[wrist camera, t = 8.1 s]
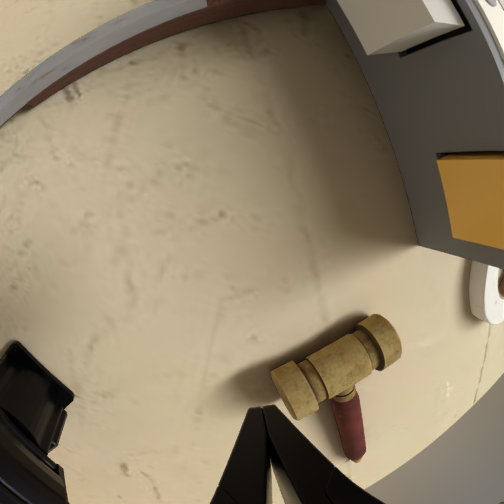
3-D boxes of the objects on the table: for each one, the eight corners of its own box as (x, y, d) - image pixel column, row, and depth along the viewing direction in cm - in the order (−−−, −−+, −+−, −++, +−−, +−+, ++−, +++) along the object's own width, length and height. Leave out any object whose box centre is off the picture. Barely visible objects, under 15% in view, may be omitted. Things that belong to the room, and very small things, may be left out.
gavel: (399, 449, 27) (329, 493, 25) (380, 428, 31) (313, 468, 29) (402, 327, 20) (285, 397, 18) (367, 304, 24) (263, 361, 22)
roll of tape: (491, 183, 27) (509, 184, 24) (522, 239, 32) (536, 242, 29) (451, 299, 28) (470, 307, 25) (489, 330, 33) (502, 336, 30)
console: (418, 245, 24) (535, 279, 12) (319, -6, 17) (409, -84, 6) (463, 212, 25) (562, 230, 14) (381, -5, 19) (467, -54, 7)
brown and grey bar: (-56, 219, 16) (-89, 228, 11) (-62, 199, 15) (-95, 206, 10) (330, 5, 18) (357, -22, 13) (319, -12, 18) (343, -41, 13)
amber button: (452, 237, 19) (516, 253, 13) (436, 160, 17) (506, 159, 11) (474, 219, 19) (532, 230, 14) (459, 148, 18) (522, 146, 12)
